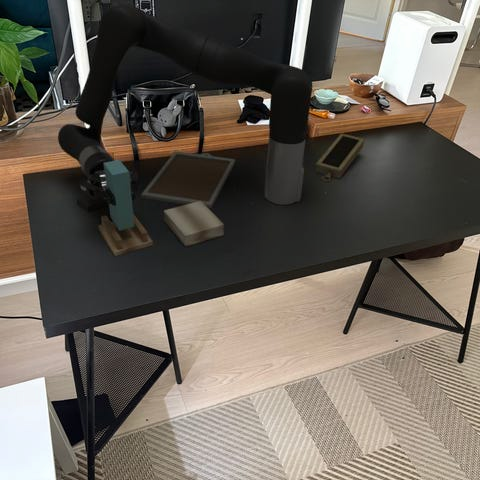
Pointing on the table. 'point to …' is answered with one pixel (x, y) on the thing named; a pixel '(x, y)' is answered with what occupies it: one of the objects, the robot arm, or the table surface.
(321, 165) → the box
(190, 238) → the block
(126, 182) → the tall teal prism
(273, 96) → the robot arm
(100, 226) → the rack
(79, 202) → the usb drive
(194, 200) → the grey framed brown panel
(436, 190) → the table surface
